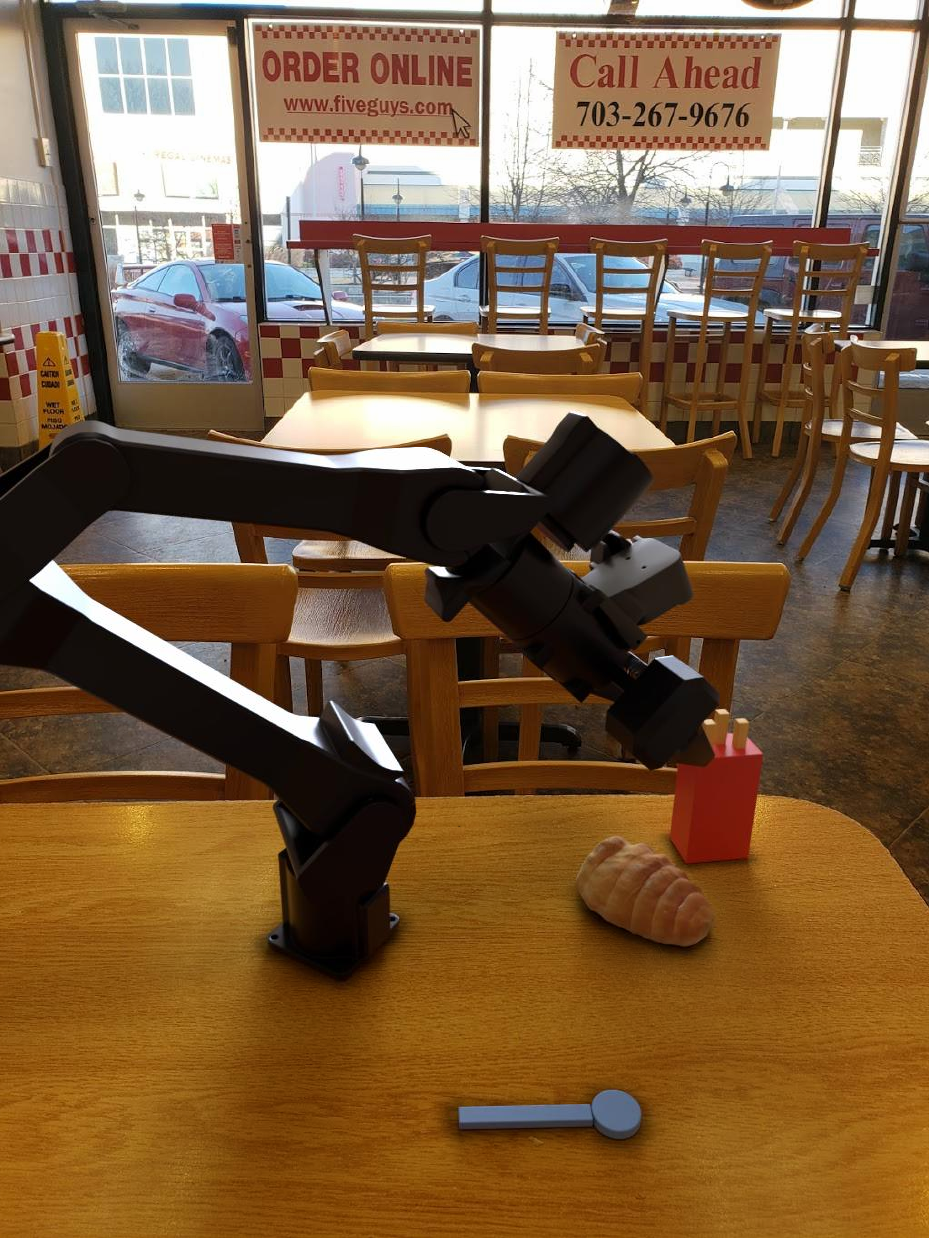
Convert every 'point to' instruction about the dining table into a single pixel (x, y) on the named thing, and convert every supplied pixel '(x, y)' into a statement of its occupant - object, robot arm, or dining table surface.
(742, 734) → the fries carton
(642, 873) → the pastry
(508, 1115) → the spoon
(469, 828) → the dining table surface
